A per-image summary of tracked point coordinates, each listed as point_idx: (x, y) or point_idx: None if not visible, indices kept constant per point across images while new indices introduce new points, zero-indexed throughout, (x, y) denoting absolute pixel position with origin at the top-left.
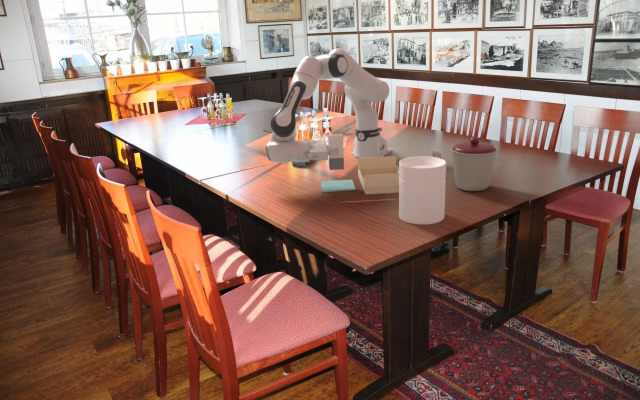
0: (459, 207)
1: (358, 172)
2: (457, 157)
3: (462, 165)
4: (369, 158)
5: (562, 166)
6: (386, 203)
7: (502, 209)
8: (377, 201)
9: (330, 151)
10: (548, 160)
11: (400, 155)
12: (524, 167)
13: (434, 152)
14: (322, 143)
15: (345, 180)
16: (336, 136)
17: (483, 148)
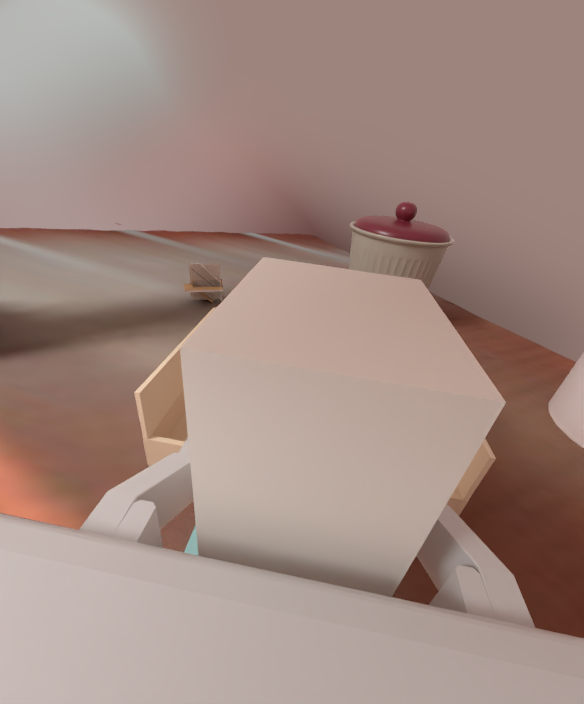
0: (512, 362)
1: (162, 451)
2: (424, 257)
3: (428, 273)
4: (171, 361)
5: (297, 247)
6: (539, 481)
7: (503, 329)
8: (525, 503)
9: (502, 582)
10: (265, 243)
11: (39, 304)
12: (284, 258)
13: (203, 266)
14: (3, 611)
15: (195, 551)
16: (429, 311)
17: (434, 225)
